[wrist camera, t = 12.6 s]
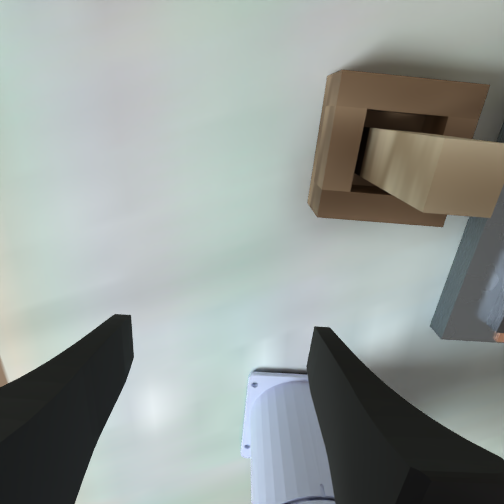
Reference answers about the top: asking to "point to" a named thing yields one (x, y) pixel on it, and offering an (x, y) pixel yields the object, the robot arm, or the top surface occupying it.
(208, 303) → the top surface
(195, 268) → the top surface
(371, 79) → the wooden square socket
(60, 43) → the top surface
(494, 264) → the panel
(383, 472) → the robot arm
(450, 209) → the wooden block
